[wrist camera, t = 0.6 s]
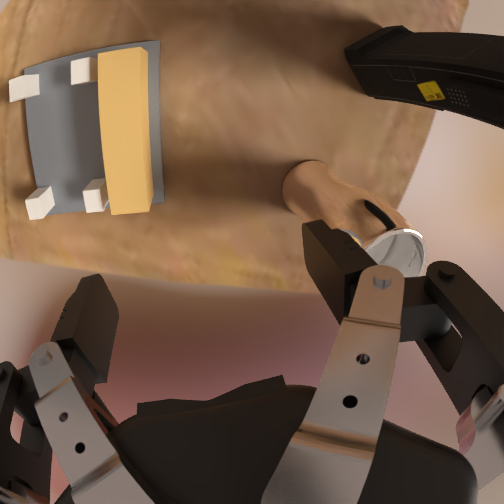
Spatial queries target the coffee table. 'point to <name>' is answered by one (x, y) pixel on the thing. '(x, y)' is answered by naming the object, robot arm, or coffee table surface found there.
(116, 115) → the bar
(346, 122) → the coffee table surface
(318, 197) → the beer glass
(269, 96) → the coffee table surface
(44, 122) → the board
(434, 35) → the portable radio
